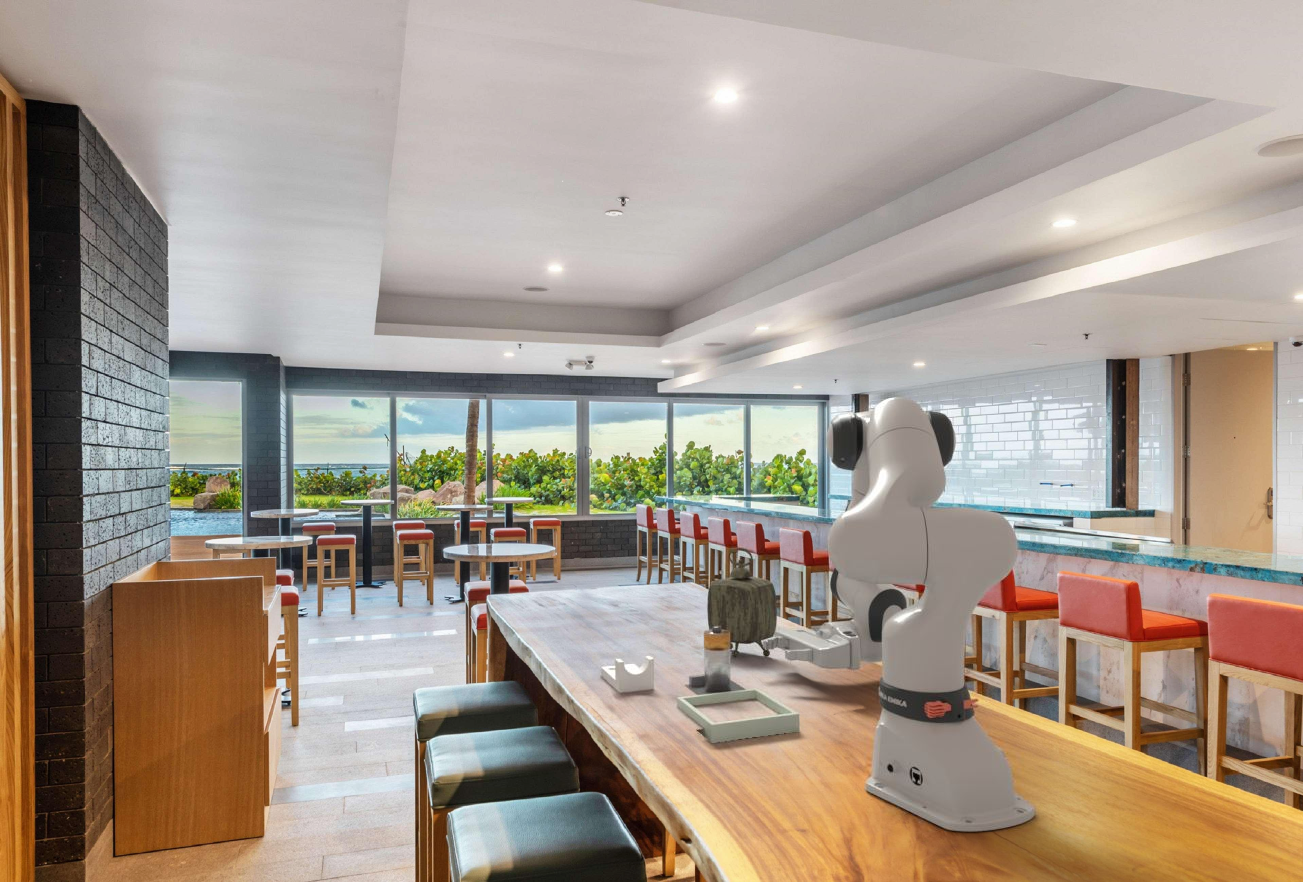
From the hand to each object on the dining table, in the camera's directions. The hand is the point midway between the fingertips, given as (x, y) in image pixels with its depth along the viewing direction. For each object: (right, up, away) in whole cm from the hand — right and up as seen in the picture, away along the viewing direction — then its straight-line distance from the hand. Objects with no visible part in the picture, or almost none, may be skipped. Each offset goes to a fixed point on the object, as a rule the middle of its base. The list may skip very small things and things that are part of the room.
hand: (775, 650), depth 161 cm
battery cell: (-12, -6, -4) cm, 14 cm away
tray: (-10, -8, -19) cm, 23 cm away
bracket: (-29, -9, +2) cm, 31 cm away
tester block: (-12, -8, -4) cm, 15 cm away
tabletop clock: (-4, -9, +28) cm, 30 cm away
